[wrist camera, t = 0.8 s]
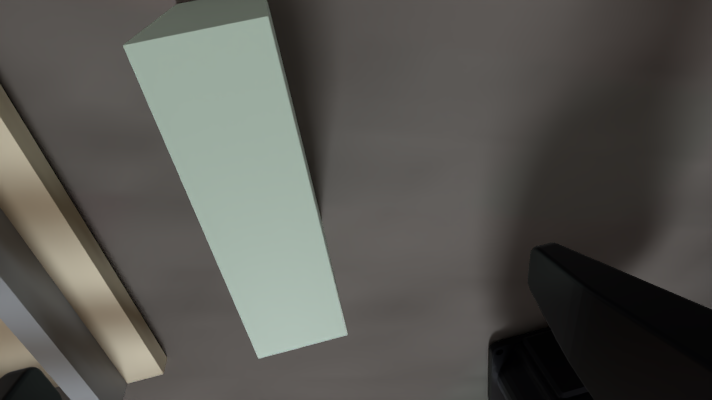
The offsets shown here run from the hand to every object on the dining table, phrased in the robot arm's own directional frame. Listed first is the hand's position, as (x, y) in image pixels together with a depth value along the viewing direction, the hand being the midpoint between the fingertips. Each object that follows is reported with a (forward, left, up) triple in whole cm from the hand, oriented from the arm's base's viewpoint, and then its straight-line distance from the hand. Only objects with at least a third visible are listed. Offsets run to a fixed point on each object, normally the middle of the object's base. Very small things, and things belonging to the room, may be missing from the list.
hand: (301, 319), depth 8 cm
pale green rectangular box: (0, +1, -11) cm, 11 cm away
